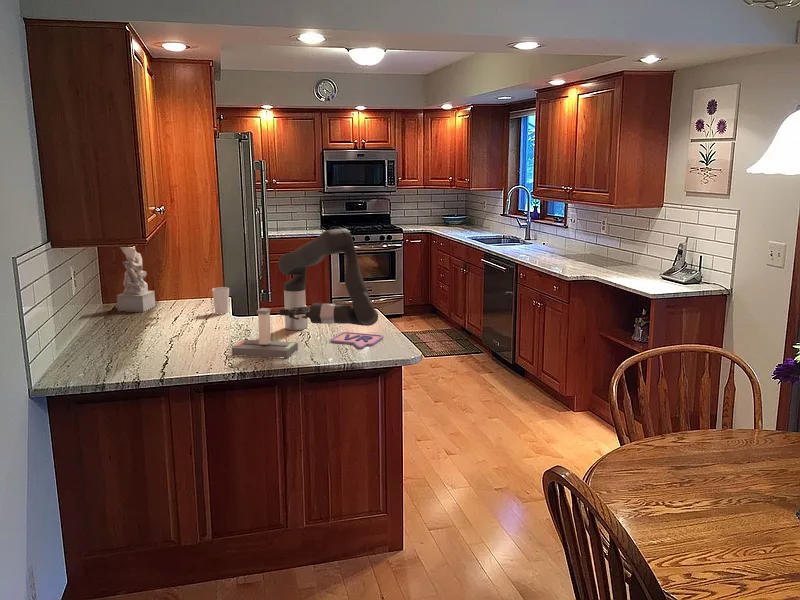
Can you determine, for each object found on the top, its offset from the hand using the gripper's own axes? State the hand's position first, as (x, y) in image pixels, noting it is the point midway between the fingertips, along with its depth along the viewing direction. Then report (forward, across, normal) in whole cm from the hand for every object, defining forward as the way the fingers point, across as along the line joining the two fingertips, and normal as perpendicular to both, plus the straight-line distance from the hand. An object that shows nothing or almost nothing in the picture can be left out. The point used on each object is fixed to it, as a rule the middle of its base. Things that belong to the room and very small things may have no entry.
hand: (280, 312), depth 252 cm
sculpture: (+99, -62, +14) cm, 118 cm away
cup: (+54, -62, +15) cm, 83 cm away
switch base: (+7, 0, +16) cm, 18 cm away
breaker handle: (+7, 0, +12) cm, 14 cm away
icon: (-23, -23, +17) cm, 37 cm away
